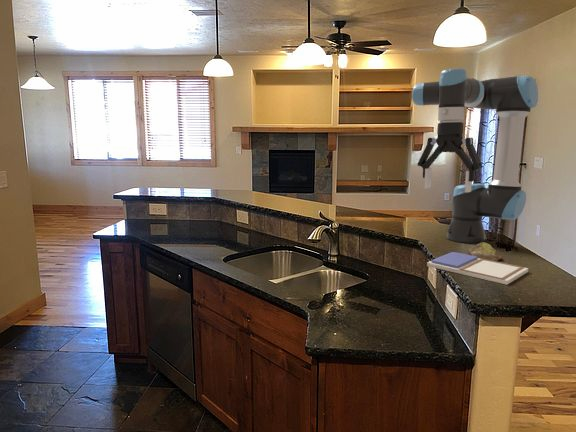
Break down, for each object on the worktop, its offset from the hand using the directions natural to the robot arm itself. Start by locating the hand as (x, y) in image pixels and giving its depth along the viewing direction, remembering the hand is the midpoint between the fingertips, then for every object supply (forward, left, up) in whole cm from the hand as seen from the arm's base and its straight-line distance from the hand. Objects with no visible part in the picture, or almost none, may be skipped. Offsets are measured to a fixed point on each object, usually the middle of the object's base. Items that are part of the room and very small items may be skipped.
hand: (447, 190), depth 138 cm
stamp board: (-9, +7, -26) cm, 29 cm away
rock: (-25, +3, -27) cm, 37 cm away
